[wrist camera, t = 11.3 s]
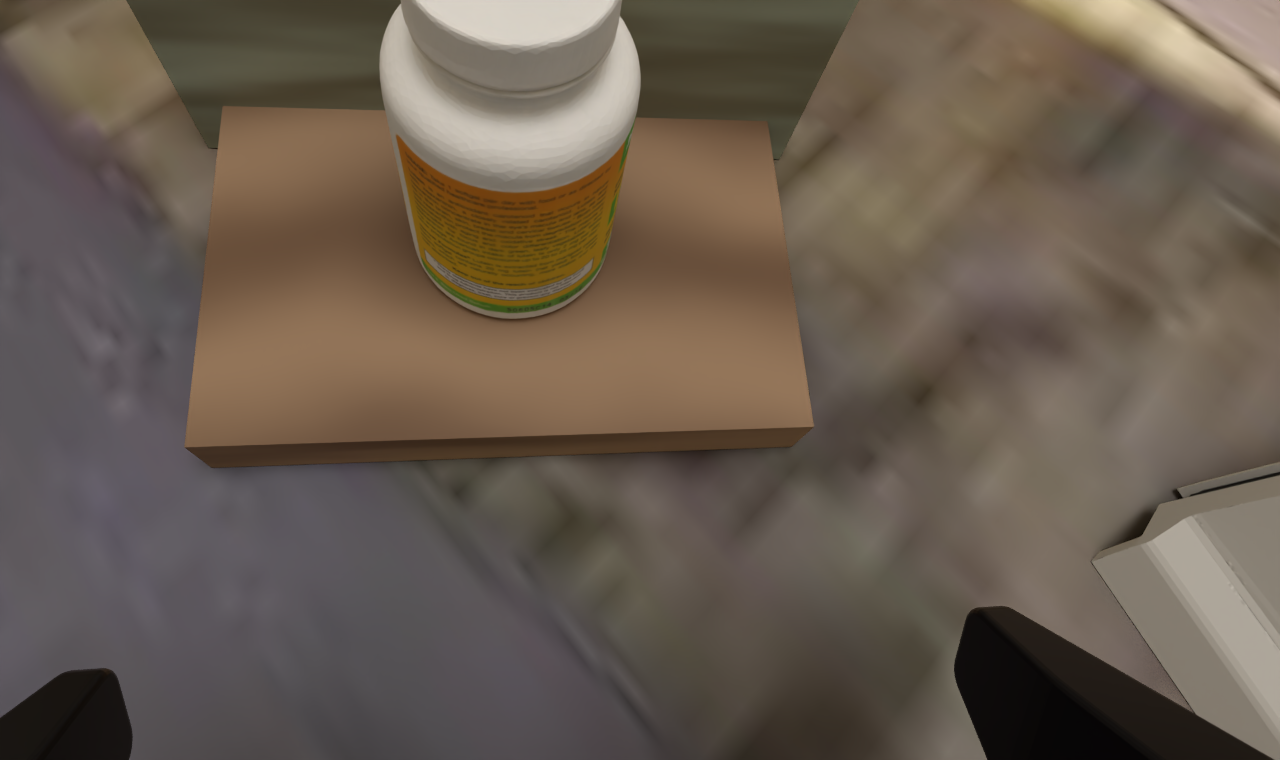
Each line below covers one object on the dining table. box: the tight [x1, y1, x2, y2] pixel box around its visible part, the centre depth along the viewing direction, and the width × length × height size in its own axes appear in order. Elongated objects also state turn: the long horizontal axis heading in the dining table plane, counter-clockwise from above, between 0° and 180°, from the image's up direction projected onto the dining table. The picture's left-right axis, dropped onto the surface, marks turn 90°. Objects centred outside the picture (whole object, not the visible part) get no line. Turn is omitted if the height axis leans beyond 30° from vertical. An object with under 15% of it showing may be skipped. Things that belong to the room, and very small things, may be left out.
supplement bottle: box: [379, 0, 641, 319], centre depth 19 cm, size 5×5×10 cm
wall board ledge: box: [127, 0, 859, 468], centre depth 22 cm, size 12×18×8 cm, turn 94°
